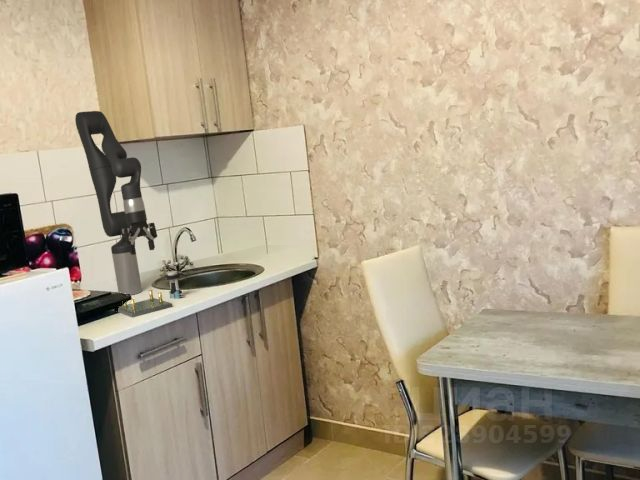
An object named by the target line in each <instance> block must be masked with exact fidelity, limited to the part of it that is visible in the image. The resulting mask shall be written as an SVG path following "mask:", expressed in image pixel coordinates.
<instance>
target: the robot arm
mask: <svg viewBox="0 0 640 480" xmlns="http://www.w3.org/2000/svg"><path fill="white" fill-rule="evenodd" d="M75 126H76V131H77V132H78V133H77V134H78V135H79V138H80V141H81V145H82V146H83V151H84V153H85V156H86V159H87V160H86V161H87V165H88V170H89V173H90V177H91V180H92V181H91V182H92V184H93V187H94V191H95V194H96V198H97V204H98V208H99V212H100V219H101V223H102V227H103V231H104V233H105V235H106V236H107V237H110V238H113V237H118V236H121V238H120V239H119V240H118V241H117V242H116V243H115V244H113V245H111V249H110V250H111V256H112V262H113V267H114V274H115V280H116V286H117V292H121V293H126V294H130V295H129V296H131V295H137V294H139V293H142V292H143V288H142V282H141V275H140V269H139V262H138V257H137V251H136V240H137V238H140V237H144V238H146V240H147V244H148V248H149V251H154V250H155V247H156V246H155V241H154V240H155V239H156V238H157V237H158V234H157V229H156V225H155V223H154V222H149V223H147V222H148V218H147V213H146V212H147V211H146V207H145V203H144V200H143V195H142V191H141V177H142V176H141V174H142V164H141V162H140V160H139V159H138V158H136V157H127V156H128V154H127V151H126V149H124V147H123V146H122V144H121V143H120V142H119V140H118V139H117V137H116V135H115V133H114V131H113V129H112V127H111V125H110V122H109V121H108V119H107V117H106V115H105V114H104V113H103V112H102V111H100V110H91V111H89V110H87V111H80V112H77V113H76V115H75ZM99 134H100V135H102V141H101V149H100V148H99V147H98V146H97V144H96V143H95V141H94V139H93V137H92V135H93V136H94V135H99ZM117 178H119V179H121V178H122V179H123V178H130V180H129V181H128V182H126V183H124V184H122V185H121V186H120V192H121V195H122V199H123V200H122V202H123V211H117V212H112V207H111V201H112V200H111V199H112V196H113V193H114V191H115V187H116V184H117ZM148 229H149V231H148Z"/></svg>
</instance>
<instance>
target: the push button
mask: <svg viewBox="0 0 640 480" xmlns="http://www.w3.org/2000/svg"><path fill="white" fill-rule="evenodd" d="M180 275H181V273H180V272H178V271H177V270H171V271H167V274H165V278H166V280H167V281H169V287H170V291H169V293H168V294H169V298H170V299H181V298H182V297H185V296H184V293H183V291H182V290H181V289H180V287H179V286H180V285H179V282H178V281H179V280H178V279H179V278H180Z"/></svg>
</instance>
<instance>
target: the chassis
mask: <svg viewBox="0 0 640 480" xmlns="http://www.w3.org/2000/svg"><path fill="white" fill-rule="evenodd" d="M153 292H154V291H153V289H150V290H148V294H149V299H145V300H140V301H137V302H135V299H134V298H133V299H130V303H129V304H127V303H128V302H127V301H126V302H125V303H124V304H123V303H122V306H121V305H120V306H121V307H120V306H118V307H119V308H118V312H117V313H119V314H122V315H125V316H128V317H131V318H135V317H140V316H142V315H147V314H151V313H154V312H158V311H162V310H166V309H169V308H173V303H172V302H169V301H166V300H163V295H162V292H157V295H158V298H156V297H154V294H153Z"/></svg>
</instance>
